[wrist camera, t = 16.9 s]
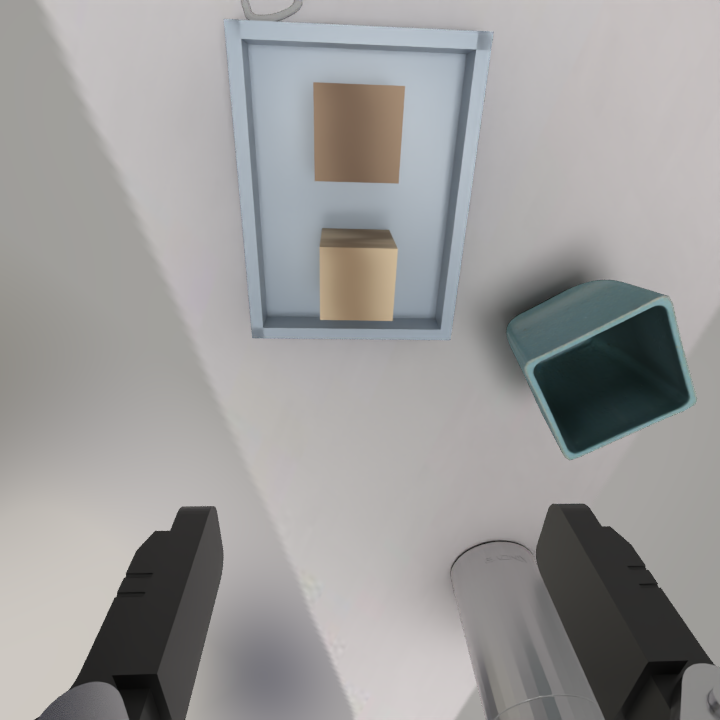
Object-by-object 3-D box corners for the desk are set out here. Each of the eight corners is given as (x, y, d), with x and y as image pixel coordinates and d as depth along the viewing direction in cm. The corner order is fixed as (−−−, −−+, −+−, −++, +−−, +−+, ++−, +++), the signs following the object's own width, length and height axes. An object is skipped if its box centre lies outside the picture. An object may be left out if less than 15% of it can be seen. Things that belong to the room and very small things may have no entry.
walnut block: (393, 91, 27) (405, 86, 22) (389, 173, 29) (398, 183, 24) (317, 88, 26) (313, 82, 22) (318, 171, 28) (314, 181, 24)
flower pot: (591, 250, 33) (672, 292, 25) (621, 343, 36) (700, 405, 29) (479, 308, 34) (522, 365, 27) (520, 391, 38) (567, 463, 30)
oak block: (389, 229, 30) (397, 248, 26) (385, 293, 32) (392, 320, 28) (322, 228, 30) (319, 247, 26) (322, 292, 32) (320, 319, 28)
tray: (441, 323, 35) (450, 340, 32) (258, 321, 34) (252, 338, 31) (477, 40, 26) (493, 31, 24) (235, 29, 26) (223, 19, 23)
